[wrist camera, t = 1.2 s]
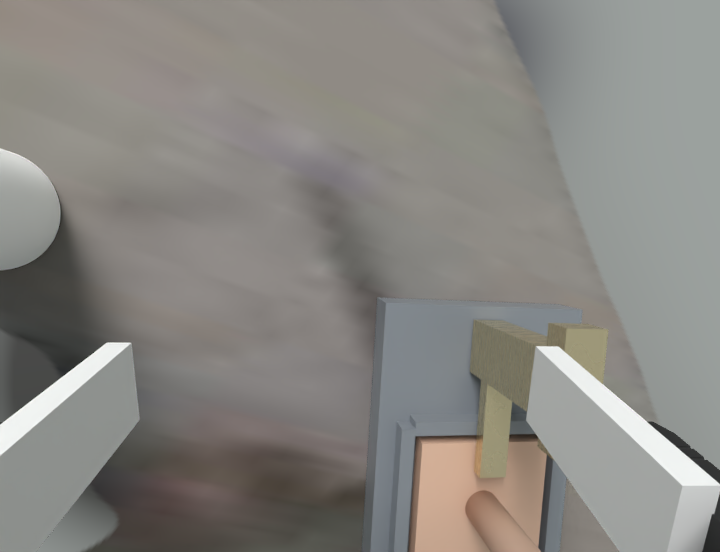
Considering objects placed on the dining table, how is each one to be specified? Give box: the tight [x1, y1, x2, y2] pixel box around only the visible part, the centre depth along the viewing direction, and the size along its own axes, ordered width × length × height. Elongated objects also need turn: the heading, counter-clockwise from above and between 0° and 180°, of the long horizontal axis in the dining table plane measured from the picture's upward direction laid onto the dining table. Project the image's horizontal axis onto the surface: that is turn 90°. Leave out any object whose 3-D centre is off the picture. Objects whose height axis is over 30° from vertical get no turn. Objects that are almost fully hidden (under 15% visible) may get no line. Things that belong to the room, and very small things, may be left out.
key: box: [470, 320, 608, 478], centre depth 29 cm, size 12×2×11 cm, turn 177°
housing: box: [362, 298, 582, 552], centre depth 36 cm, size 22×16×4 cm
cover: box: [408, 434, 547, 552], centre depth 30 cm, size 10×10×10 cm
